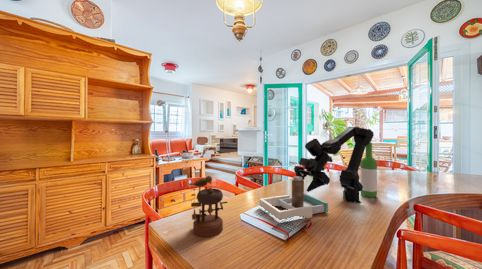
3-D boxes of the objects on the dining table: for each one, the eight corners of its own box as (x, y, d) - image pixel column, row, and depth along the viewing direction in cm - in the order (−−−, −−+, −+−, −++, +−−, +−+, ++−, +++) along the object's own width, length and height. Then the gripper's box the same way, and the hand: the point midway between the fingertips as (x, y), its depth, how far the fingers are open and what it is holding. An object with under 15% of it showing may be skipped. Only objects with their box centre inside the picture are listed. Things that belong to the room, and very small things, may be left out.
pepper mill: (305, 206, 89) (305, 177, 89) (301, 210, 85) (301, 179, 85) (294, 204, 92) (294, 175, 92) (289, 207, 88) (290, 177, 88)
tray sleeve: (288, 203, 97) (288, 194, 97) (312, 217, 81) (312, 206, 81) (259, 208, 91) (259, 198, 91) (279, 223, 75) (279, 212, 75)
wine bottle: (380, 196, 107) (380, 142, 107) (370, 198, 104) (371, 142, 104) (366, 192, 115) (366, 142, 114) (357, 194, 112) (357, 142, 112)
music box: (195, 243, 62) (193, 179, 63) (185, 231, 71) (183, 176, 72) (236, 230, 70) (233, 174, 71) (222, 221, 79) (220, 171, 81)
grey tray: (304, 200, 99) (304, 193, 99) (327, 212, 85) (328, 202, 85) (277, 205, 93) (277, 196, 93) (298, 217, 79) (298, 208, 79)
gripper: (296, 150, 100) (278, 173, 96) (324, 153, 82) (304, 182, 78) (308, 164, 103) (291, 187, 99) (338, 170, 85) (319, 199, 81)
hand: (300, 188), depth 89 cm, fingers open, 9 cm apart
